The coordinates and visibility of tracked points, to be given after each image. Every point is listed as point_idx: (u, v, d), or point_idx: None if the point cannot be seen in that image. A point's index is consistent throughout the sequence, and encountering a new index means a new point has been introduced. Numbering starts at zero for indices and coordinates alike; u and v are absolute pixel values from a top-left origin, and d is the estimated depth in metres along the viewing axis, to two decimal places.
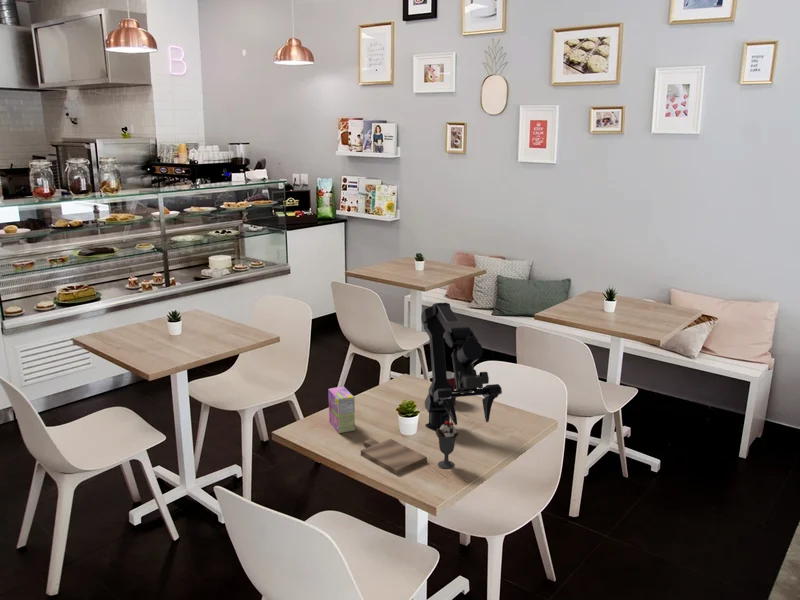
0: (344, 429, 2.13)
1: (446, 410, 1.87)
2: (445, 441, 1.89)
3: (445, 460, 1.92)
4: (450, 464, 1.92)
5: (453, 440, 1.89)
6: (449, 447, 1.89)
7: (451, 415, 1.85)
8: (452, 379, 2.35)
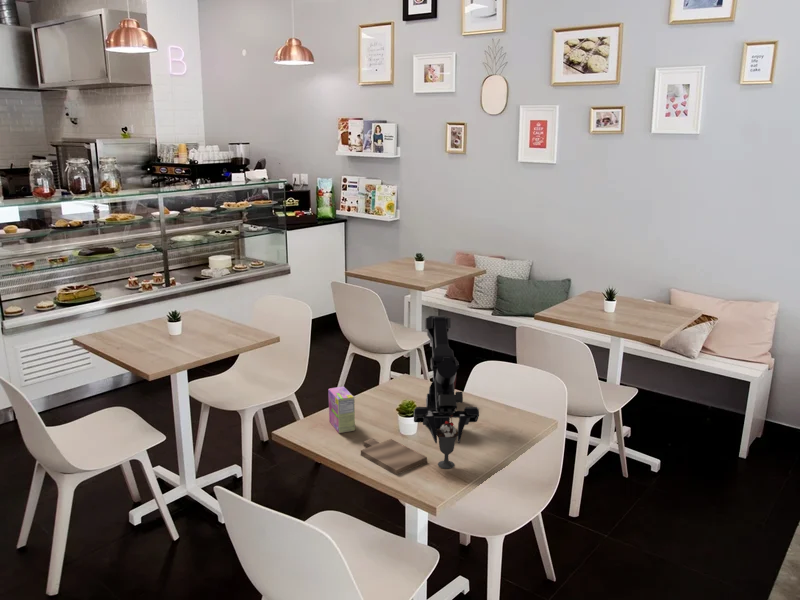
0: (344, 429, 2.13)
1: None
2: (445, 441, 1.89)
3: (445, 460, 1.92)
4: (450, 464, 1.92)
5: (453, 440, 1.89)
6: (449, 447, 1.89)
7: (432, 433, 1.91)
8: None
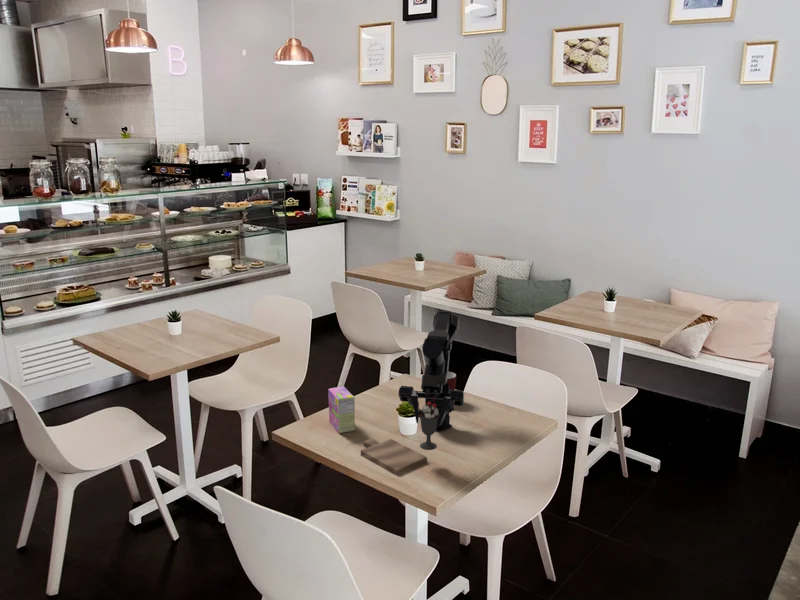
0: (344, 429, 2.13)
1: None
2: (425, 422, 1.88)
3: (427, 441, 1.91)
4: (432, 446, 1.91)
5: (433, 421, 1.88)
6: (429, 428, 1.88)
7: None
8: (452, 379, 2.35)
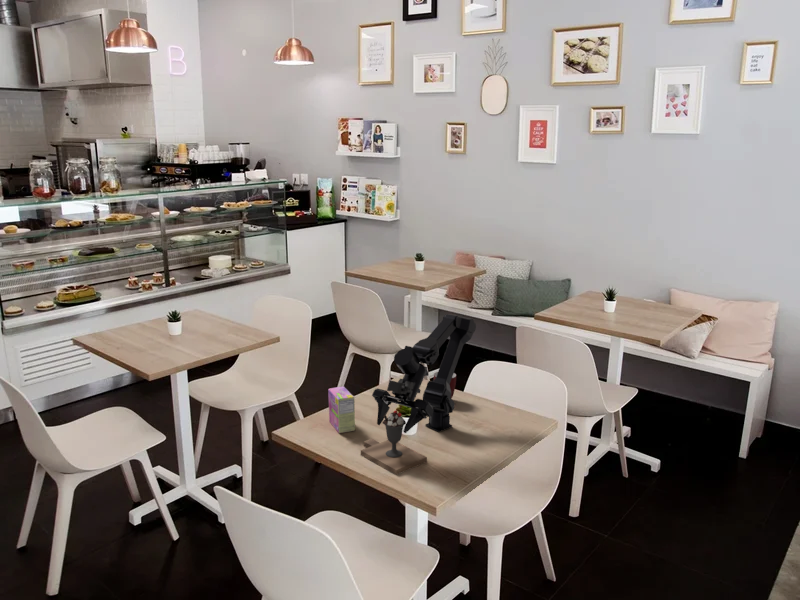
0: (344, 429, 2.13)
1: None
2: (387, 429, 1.92)
3: (392, 448, 1.95)
4: (395, 454, 1.95)
5: (395, 430, 1.92)
6: (391, 436, 1.92)
7: None
8: (452, 379, 2.35)
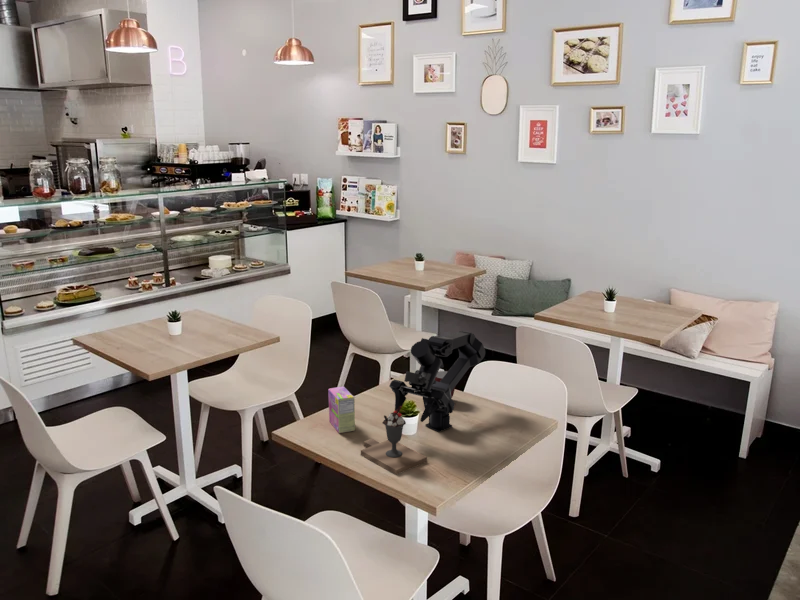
0: (344, 429, 2.13)
1: None
2: (387, 429, 1.92)
3: (392, 449, 1.95)
4: (395, 454, 1.95)
5: (395, 430, 1.92)
6: (391, 436, 1.92)
7: None
8: None
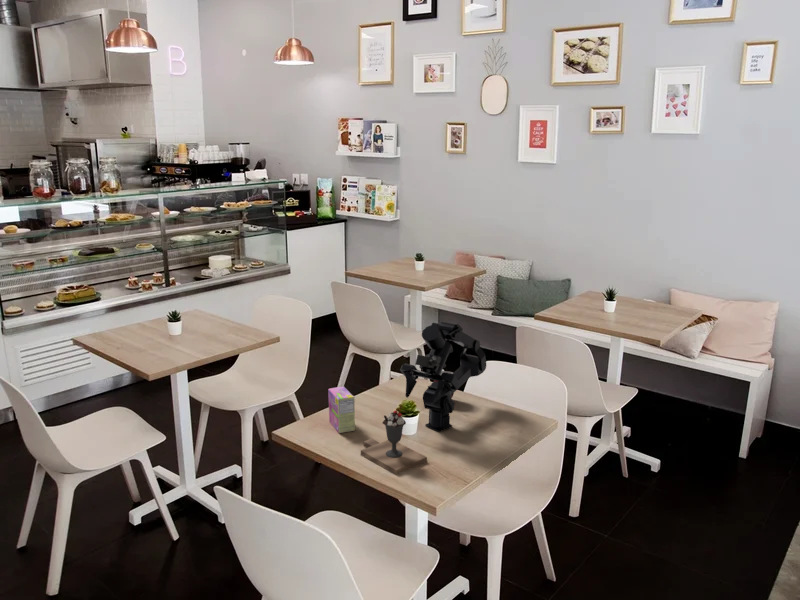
0: (344, 429, 2.13)
1: None
2: (387, 429, 1.92)
3: (392, 449, 1.95)
4: (395, 454, 1.95)
5: (395, 430, 1.92)
6: (391, 436, 1.92)
7: None
8: None
